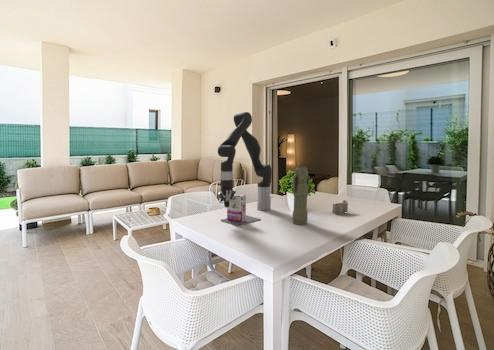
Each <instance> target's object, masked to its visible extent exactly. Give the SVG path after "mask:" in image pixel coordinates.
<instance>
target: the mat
mask: <svg viewBox="0 0 494 350" xmlns="http://www.w3.org/2000/svg"><path fill="white" fill-rule="evenodd" d="M258 221H262V219H261V218H258V217H254V216H249V215H246V221H244V222H236V221H230V220H227V217H226V218H223V219H220V222H223V223H227V224H229V225H233V226H236V227H239V226H243V225H247V224H251V223H255V222H258Z"/></svg>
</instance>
